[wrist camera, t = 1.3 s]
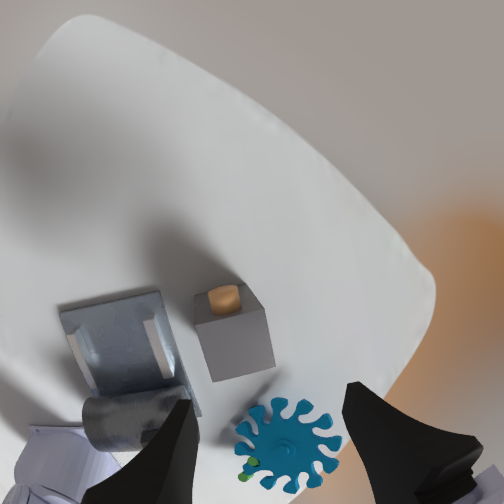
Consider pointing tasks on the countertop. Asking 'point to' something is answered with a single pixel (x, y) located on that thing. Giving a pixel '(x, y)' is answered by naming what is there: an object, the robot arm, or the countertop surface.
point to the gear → (286, 446)
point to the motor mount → (127, 370)
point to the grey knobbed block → (233, 332)
